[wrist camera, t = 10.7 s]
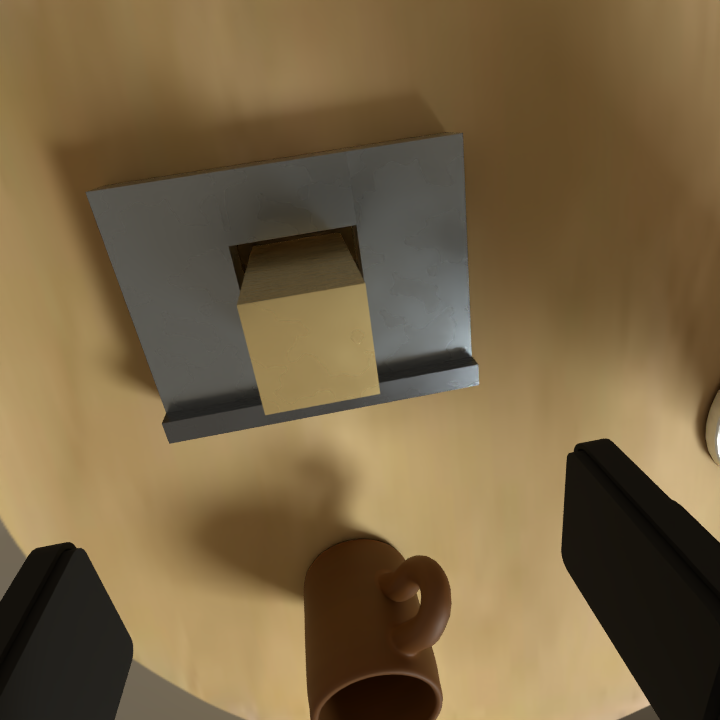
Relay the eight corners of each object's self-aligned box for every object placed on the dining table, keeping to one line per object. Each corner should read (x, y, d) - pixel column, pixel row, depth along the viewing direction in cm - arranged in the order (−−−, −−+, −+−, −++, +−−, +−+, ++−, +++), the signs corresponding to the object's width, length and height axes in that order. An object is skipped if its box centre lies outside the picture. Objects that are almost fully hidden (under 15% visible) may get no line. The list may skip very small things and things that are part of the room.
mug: (360, 471, 32) (388, 598, 23) (459, 504, 34) (516, 629, 25) (285, 598, 35) (285, 746, 27) (378, 619, 38) (404, 762, 29)
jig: (445, 132, 24) (470, 133, 20) (457, 356, 29) (478, 385, 26) (105, 185, 23) (76, 195, 19) (182, 407, 28) (169, 443, 25)
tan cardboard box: (339, 232, 25) (365, 283, 17) (351, 313, 27) (380, 393, 19) (252, 246, 25) (236, 305, 17) (271, 327, 27) (264, 415, 19)
